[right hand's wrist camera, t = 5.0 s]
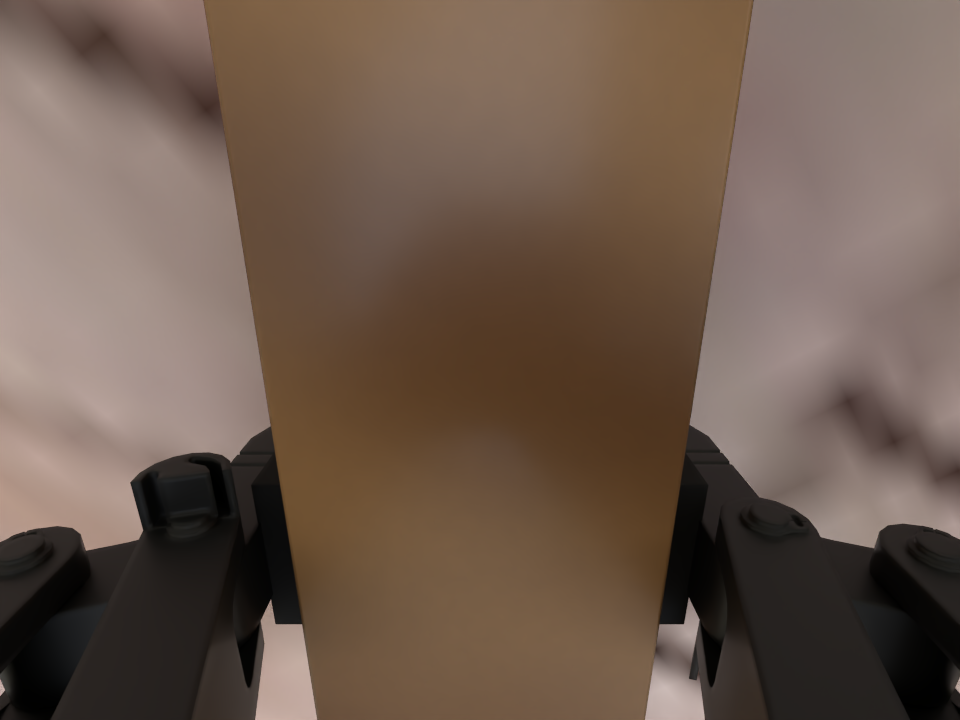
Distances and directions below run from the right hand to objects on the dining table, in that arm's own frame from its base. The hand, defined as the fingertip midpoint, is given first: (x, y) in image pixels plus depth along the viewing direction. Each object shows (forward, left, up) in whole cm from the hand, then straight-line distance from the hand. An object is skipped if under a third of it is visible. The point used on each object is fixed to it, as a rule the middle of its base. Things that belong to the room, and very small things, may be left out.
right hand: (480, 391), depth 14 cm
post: (+27, -19, -1) cm, 33 cm away
